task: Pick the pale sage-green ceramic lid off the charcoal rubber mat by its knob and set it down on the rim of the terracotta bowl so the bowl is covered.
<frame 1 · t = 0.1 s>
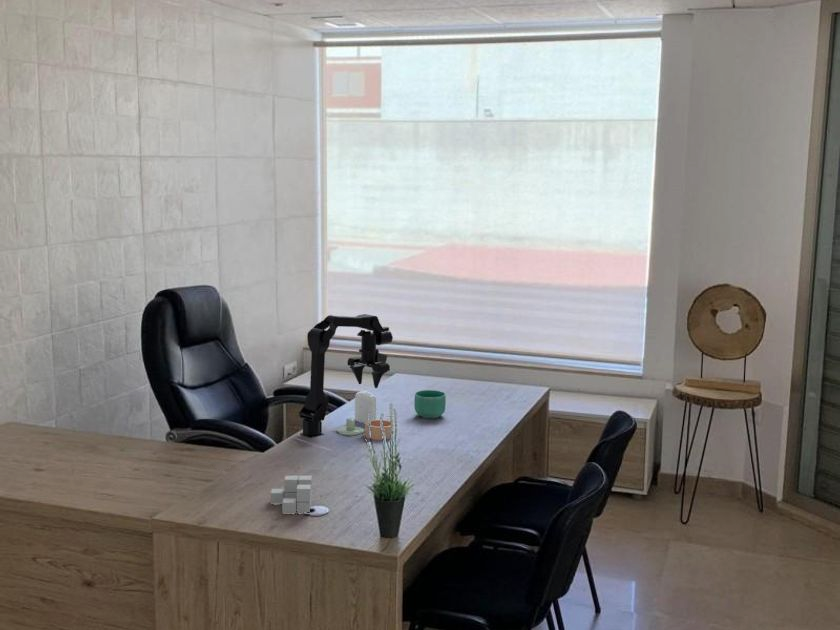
hand: (368, 386, 371), 15 cm above the table, fingers open, 9 cm apart
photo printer: (365, 423, 372), on the table
puzzle cube: (290, 508, 278), on the table
mug: (431, 415, 386), on the table
mat: (350, 432, 358), on the table
bowl: (380, 436, 354), on the table
lid: (350, 431, 358), resting on mat
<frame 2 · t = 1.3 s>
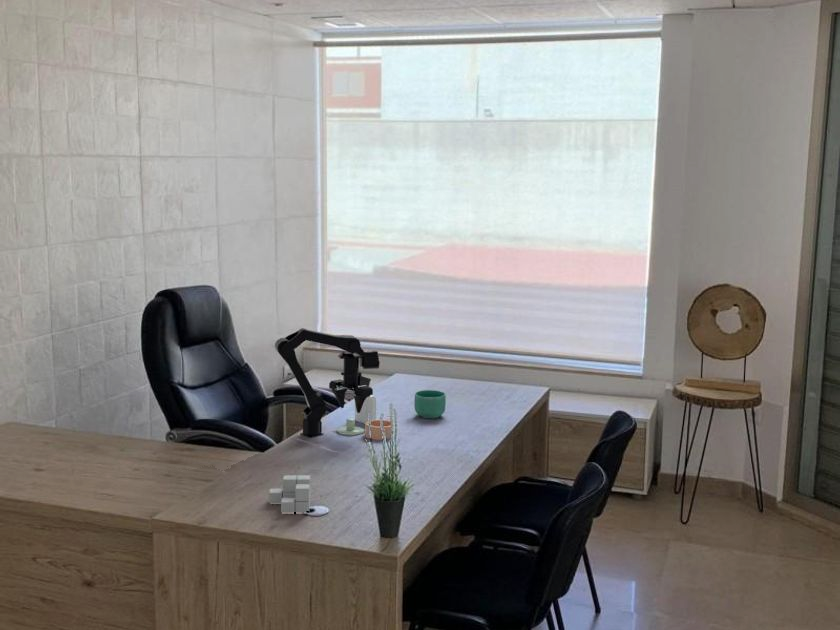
hand: (350, 410, 356), 9 cm above the table, fingers open, 9 cm apart
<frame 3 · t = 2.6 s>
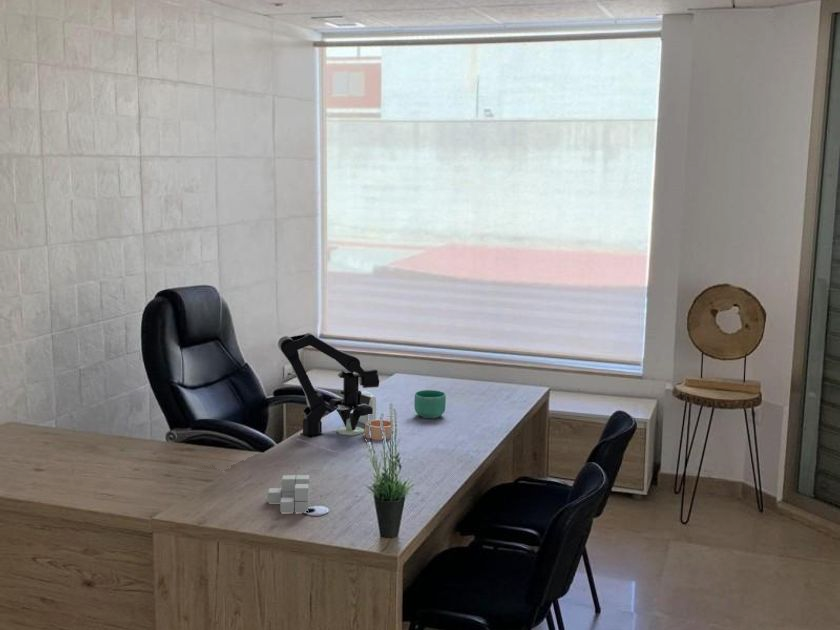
hand: (350, 428, 357), 2 cm above the table, fingers closed on lid, 3 cm apart
lid: (350, 431, 358), resting on mat, touching gripper
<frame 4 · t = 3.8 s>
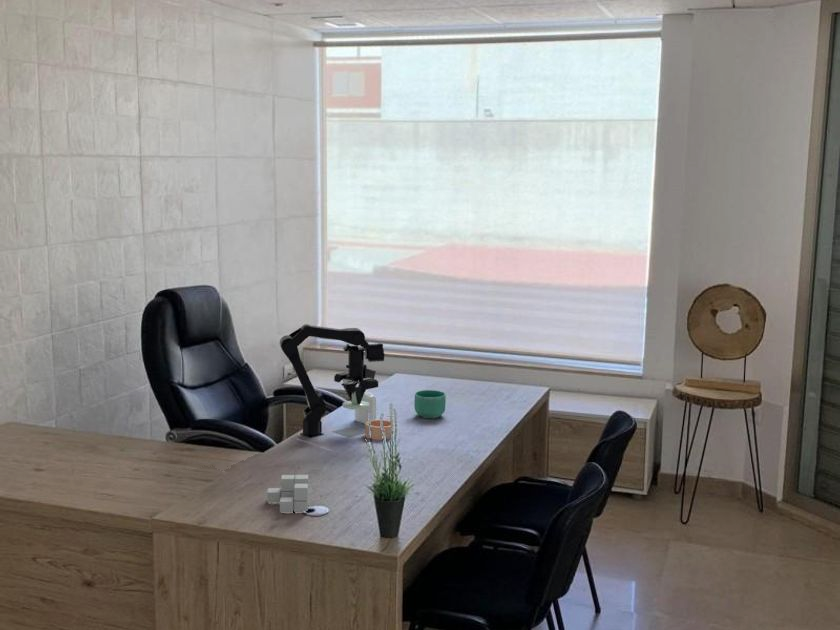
hand: (356, 403, 355), 12 cm above the table, fingers closed on lid, 3 cm apart
lid: (355, 405, 355), point 11 cm above the table, touching gripper
when the fingers open (7 cm above the table, at t = 5.3 s): lid drops 1 cm, resting on bowl.
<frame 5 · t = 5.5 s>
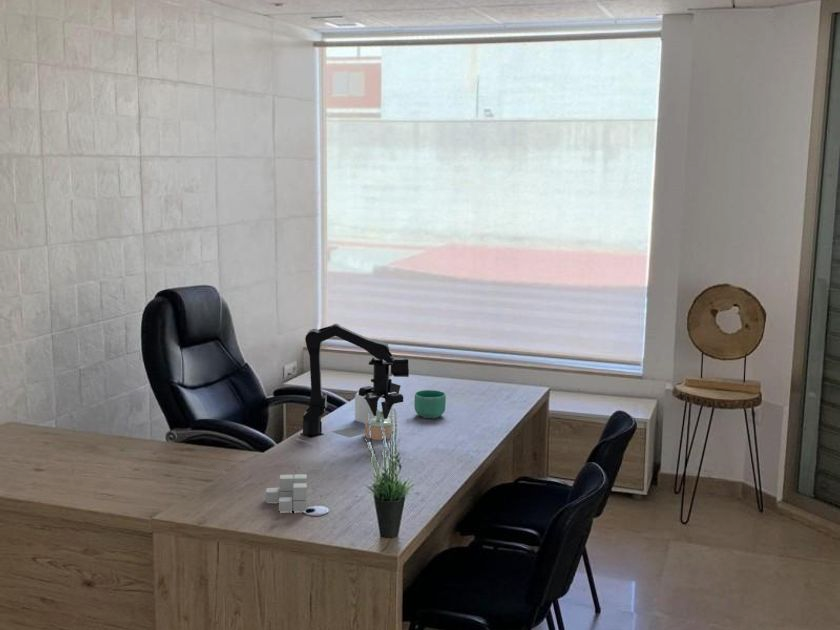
hand: (380, 417, 352), 7 cm above the table, fingers open, 5 cm apart
lid: (380, 423, 353), point 5 cm above the table, touching bowl
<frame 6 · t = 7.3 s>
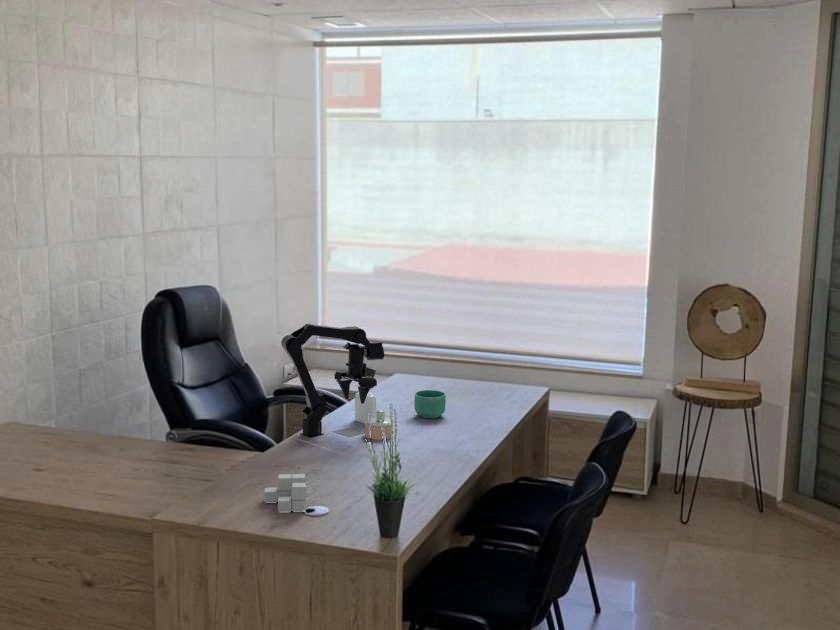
hand: (354, 401, 358), 12 cm above the table, fingers open, 9 cm apart
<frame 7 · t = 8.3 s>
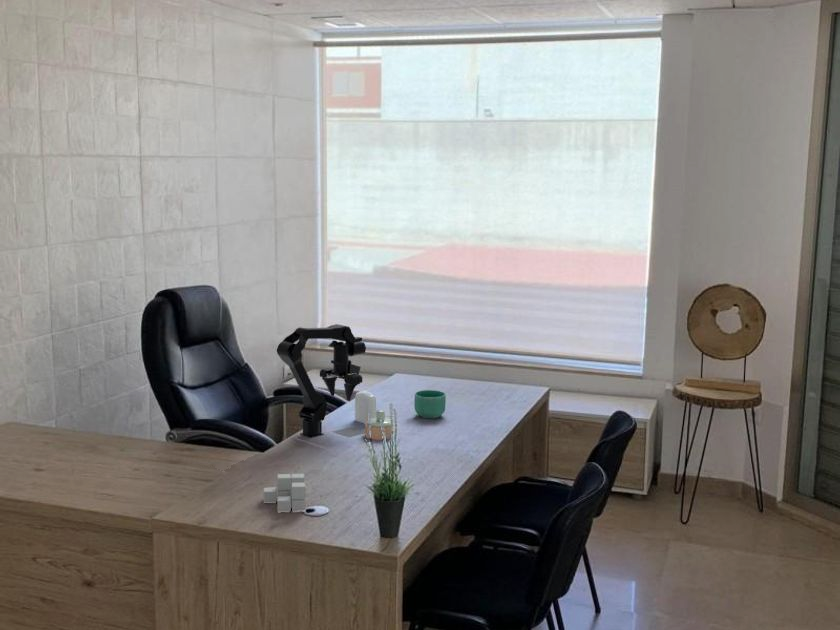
hand: (340, 398, 361), 12 cm above the table, fingers open, 9 cm apart
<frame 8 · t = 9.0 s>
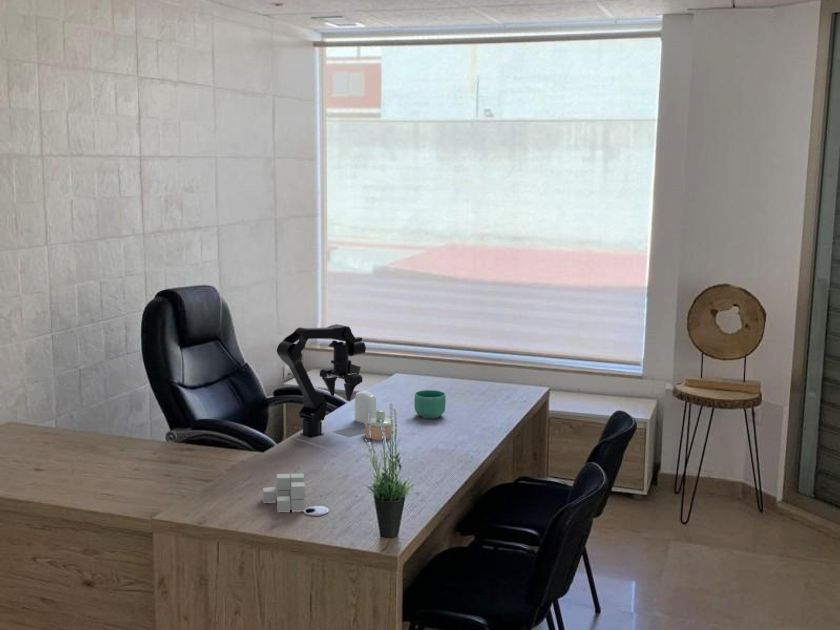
hand: (340, 398, 361), 12 cm above the table, fingers open, 9 cm apart
at the end: lid 0.1 cm off-centre on the bowl, point 5.0 cm above the bowl's base; lid tilted 0°; the gripper is holding nothing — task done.
